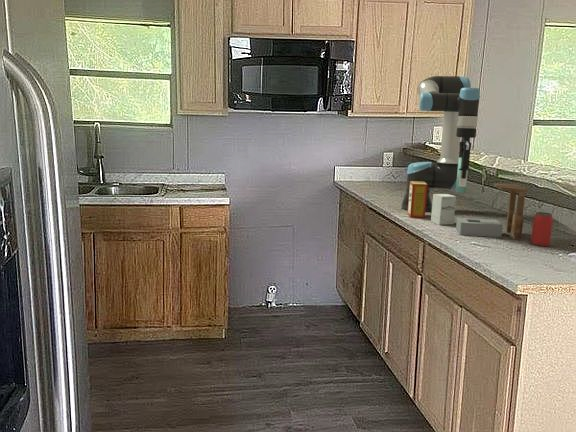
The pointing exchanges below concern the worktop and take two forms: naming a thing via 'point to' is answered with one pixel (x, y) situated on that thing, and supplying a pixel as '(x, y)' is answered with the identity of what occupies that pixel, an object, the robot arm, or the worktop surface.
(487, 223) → the socket
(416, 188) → the baking soda box
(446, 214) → the supplement box
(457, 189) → the peg
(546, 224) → the beer can
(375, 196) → the worktop surface
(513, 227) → the wooden t-shaped stand
